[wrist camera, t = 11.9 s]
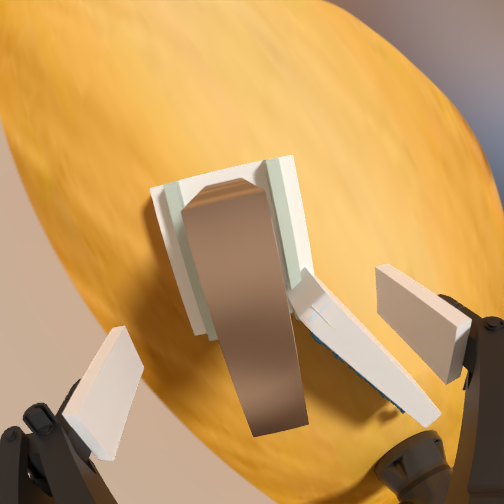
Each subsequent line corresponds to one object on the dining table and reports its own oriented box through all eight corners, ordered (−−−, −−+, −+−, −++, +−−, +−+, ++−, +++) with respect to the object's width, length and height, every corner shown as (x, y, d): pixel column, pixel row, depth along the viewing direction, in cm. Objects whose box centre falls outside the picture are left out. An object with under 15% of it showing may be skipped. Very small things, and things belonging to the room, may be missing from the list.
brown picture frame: (273, 308, 27) (313, 423, 14) (235, 317, 27) (248, 437, 14) (244, 176, 24) (272, 189, 10) (202, 186, 23) (173, 213, 10)
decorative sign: (269, 281, 30) (290, 332, 20) (296, 254, 29) (330, 295, 20) (404, 403, 38) (432, 444, 29) (421, 387, 38) (453, 426, 28)
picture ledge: (310, 293, 30) (323, 313, 26) (196, 320, 30) (193, 344, 26) (285, 155, 26) (297, 154, 22) (157, 186, 26) (144, 190, 22)
